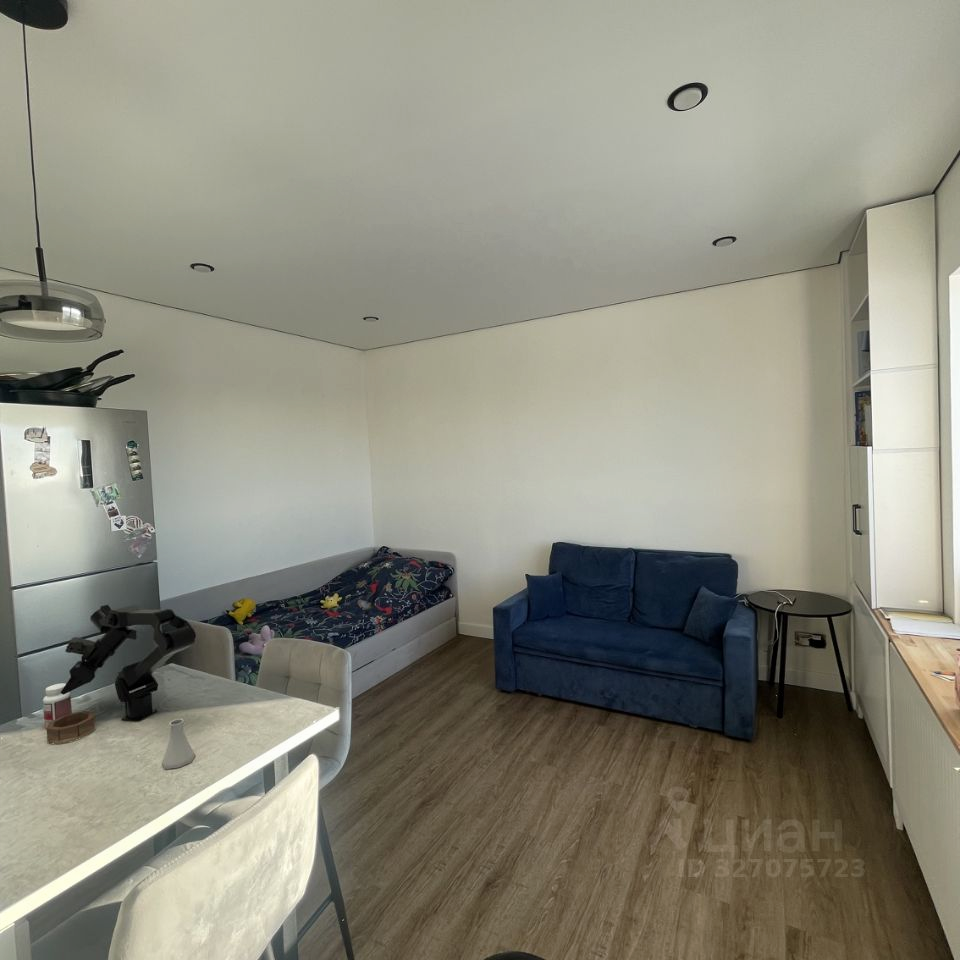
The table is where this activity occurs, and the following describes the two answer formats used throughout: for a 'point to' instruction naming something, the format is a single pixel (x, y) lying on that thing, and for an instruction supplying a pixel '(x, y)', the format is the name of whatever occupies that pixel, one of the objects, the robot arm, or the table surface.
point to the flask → (177, 747)
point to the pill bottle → (56, 703)
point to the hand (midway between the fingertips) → (66, 687)
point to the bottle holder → (71, 727)
